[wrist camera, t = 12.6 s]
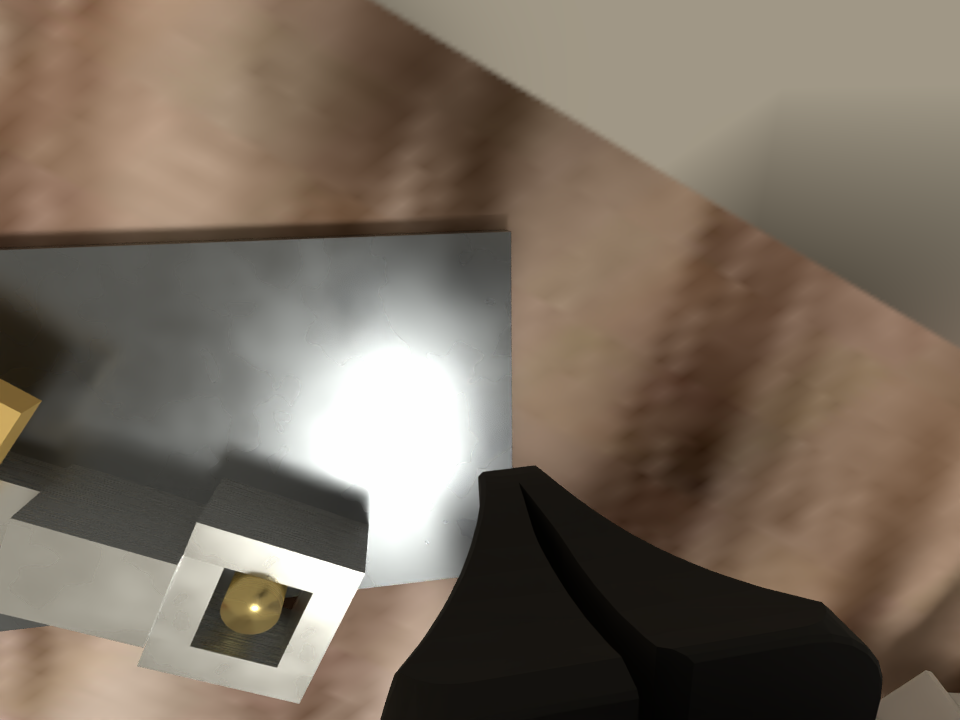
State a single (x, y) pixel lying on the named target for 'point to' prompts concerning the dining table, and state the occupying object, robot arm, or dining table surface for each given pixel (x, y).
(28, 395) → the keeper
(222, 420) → the plate
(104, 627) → the link
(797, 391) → the dining table surface
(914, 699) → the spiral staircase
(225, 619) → the cylinder
